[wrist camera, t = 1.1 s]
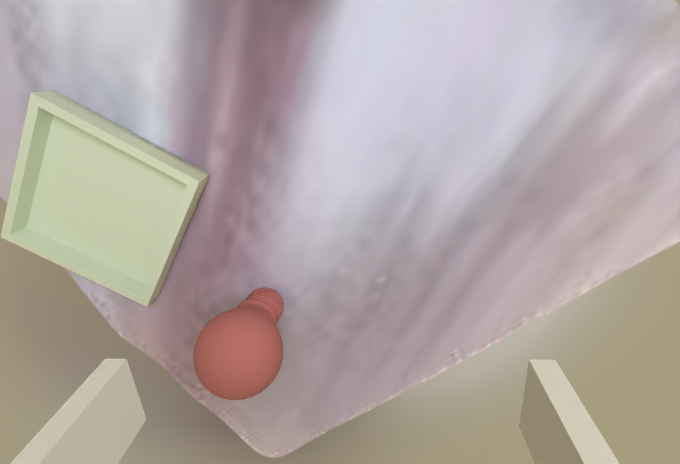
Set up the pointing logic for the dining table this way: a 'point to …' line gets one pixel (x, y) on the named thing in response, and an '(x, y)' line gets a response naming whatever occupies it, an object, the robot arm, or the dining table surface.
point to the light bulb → (241, 347)
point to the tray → (99, 198)
